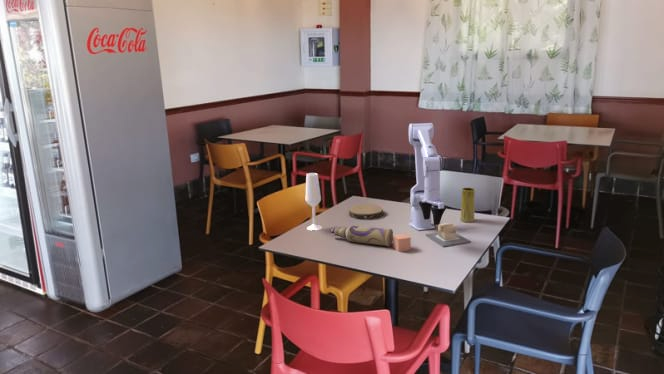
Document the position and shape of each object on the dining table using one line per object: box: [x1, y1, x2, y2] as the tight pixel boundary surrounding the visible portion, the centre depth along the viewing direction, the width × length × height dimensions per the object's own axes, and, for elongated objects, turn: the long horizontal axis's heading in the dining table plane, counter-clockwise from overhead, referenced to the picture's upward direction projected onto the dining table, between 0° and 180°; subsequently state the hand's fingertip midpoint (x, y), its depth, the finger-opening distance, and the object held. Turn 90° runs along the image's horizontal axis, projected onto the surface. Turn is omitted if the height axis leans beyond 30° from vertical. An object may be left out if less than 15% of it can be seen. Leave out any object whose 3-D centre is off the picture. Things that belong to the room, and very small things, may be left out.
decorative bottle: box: [330, 224, 394, 247], centre depth 202 cm, size 26×8×7 cm, turn 64°
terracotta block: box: [392, 233, 412, 253], centre depth 193 cm, size 5×5×5 cm
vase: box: [459, 187, 476, 223], centre depth 221 cm, size 6×6×14 cm
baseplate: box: [425, 231, 472, 248], centre depth 201 cm, size 14×12×1 cm
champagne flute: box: [304, 172, 323, 231], centre depth 218 cm, size 7×7×24 cm
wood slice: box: [348, 203, 384, 221], centre depth 237 cm, size 16×16×3 cm
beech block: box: [437, 222, 457, 240], centre depth 201 cm, size 5×5×5 cm
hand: (431, 221), depth 196 cm, fingers open, 7 cm apart
